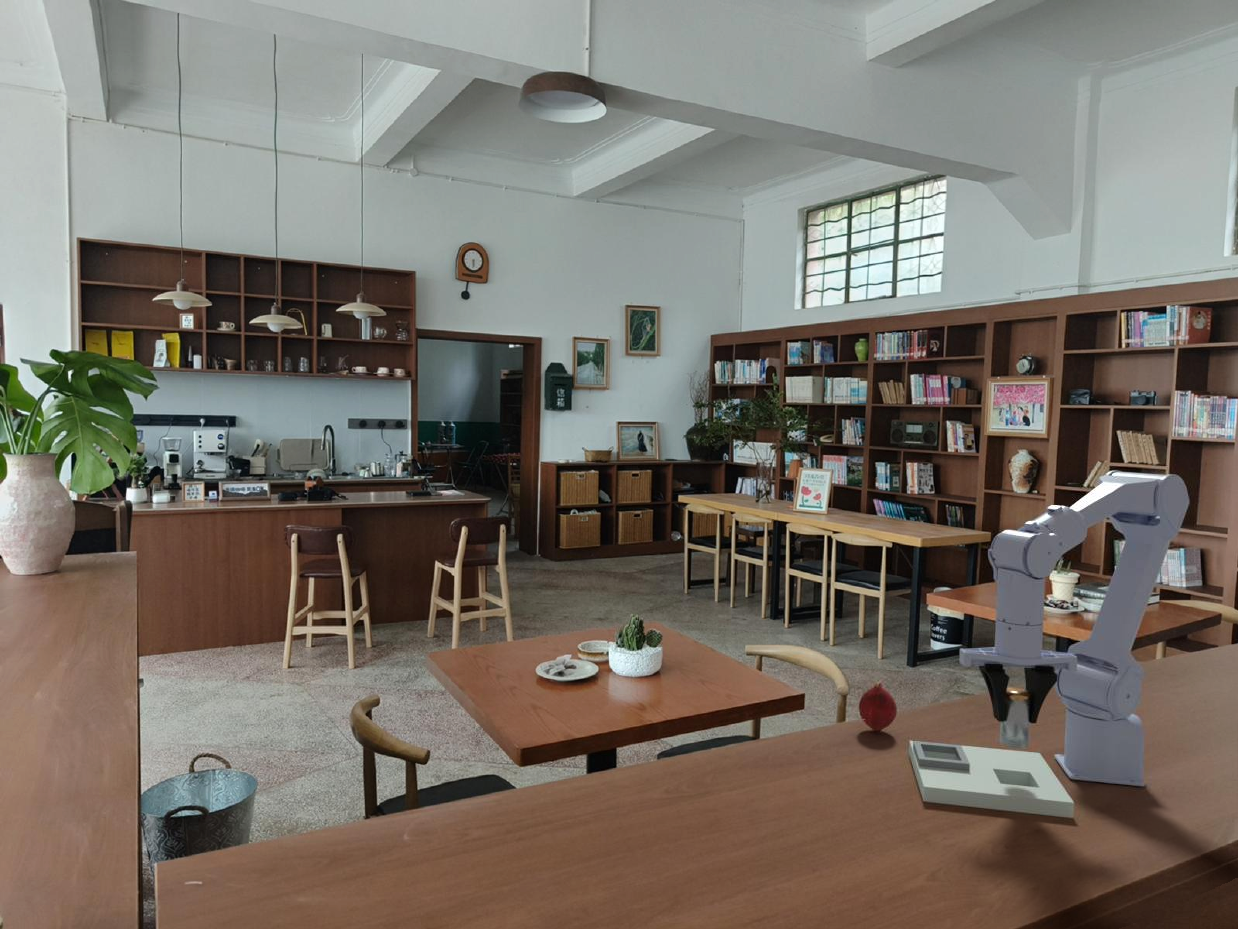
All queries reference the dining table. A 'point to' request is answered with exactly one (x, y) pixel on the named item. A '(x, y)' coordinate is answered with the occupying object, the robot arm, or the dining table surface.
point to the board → (988, 779)
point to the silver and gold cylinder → (1016, 718)
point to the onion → (877, 708)
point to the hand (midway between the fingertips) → (1014, 720)
